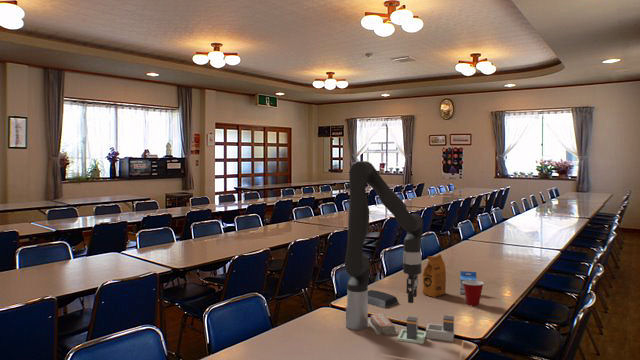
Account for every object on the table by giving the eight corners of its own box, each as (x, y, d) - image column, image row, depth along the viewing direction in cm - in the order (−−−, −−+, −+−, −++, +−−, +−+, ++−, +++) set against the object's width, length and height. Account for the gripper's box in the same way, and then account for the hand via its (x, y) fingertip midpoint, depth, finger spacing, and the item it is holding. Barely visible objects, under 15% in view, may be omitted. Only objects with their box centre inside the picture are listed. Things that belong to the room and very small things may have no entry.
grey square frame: (425, 339, 186) (425, 318, 186) (428, 332, 194) (428, 311, 193) (452, 342, 183) (453, 321, 182) (454, 335, 190) (454, 314, 190)
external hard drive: (383, 309, 225) (383, 301, 224) (355, 300, 239) (355, 293, 239) (399, 303, 234) (399, 295, 233) (371, 295, 248) (371, 288, 247)
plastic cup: (480, 301, 235) (481, 279, 235) (486, 308, 224) (486, 284, 224) (459, 300, 236) (460, 278, 236) (464, 307, 225) (464, 284, 225)
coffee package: (419, 293, 249) (419, 255, 247) (434, 290, 256) (434, 252, 255) (433, 298, 240) (433, 258, 239) (448, 294, 248) (448, 255, 246)
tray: (397, 341, 184) (397, 338, 184) (401, 332, 194) (401, 328, 194) (423, 345, 180) (423, 341, 180) (426, 335, 190) (426, 332, 190)
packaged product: (399, 325, 191) (377, 326, 189) (399, 336, 191) (377, 337, 190) (386, 310, 209) (366, 312, 207) (386, 320, 209) (366, 322, 207)
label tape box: (460, 294, 247) (460, 272, 247) (459, 292, 251) (460, 270, 251) (476, 295, 245) (476, 273, 244) (476, 293, 249) (476, 271, 248)
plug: (406, 338, 186) (406, 319, 185) (408, 334, 190) (408, 316, 189) (416, 339, 184) (416, 320, 184) (417, 336, 188) (417, 317, 188)
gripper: (406, 257, 193) (406, 294, 194) (400, 264, 180) (400, 304, 181) (423, 258, 191) (423, 295, 192) (418, 266, 177) (418, 305, 178)
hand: (412, 299), depth 186 cm, fingers open, 8 cm apart
